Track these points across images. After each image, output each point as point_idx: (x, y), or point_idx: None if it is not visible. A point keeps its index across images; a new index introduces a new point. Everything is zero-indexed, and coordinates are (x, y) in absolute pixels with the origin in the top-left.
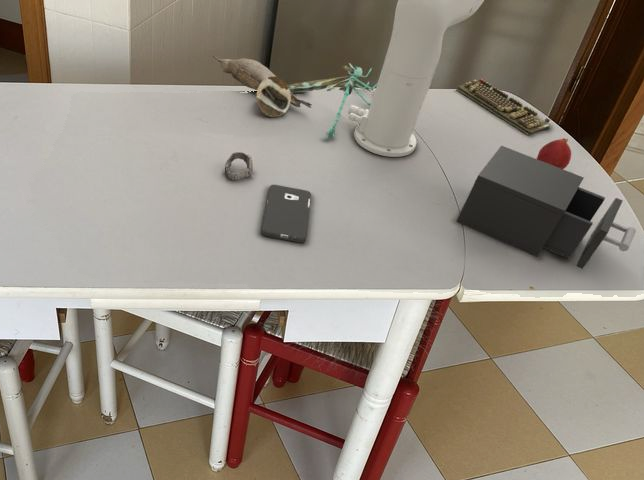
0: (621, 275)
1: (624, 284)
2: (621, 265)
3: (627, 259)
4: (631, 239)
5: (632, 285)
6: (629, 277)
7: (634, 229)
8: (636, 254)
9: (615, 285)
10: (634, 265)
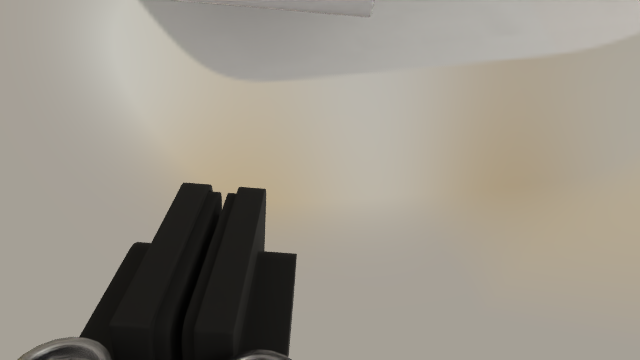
0: (256, 22)
1: (205, 40)
2: (327, 14)
3: (387, 32)
4: (248, 1)
5: (221, 69)
6: (265, 53)
7: (358, 5)
8: (445, 61)
9: (171, 8)
10: (361, 62)
